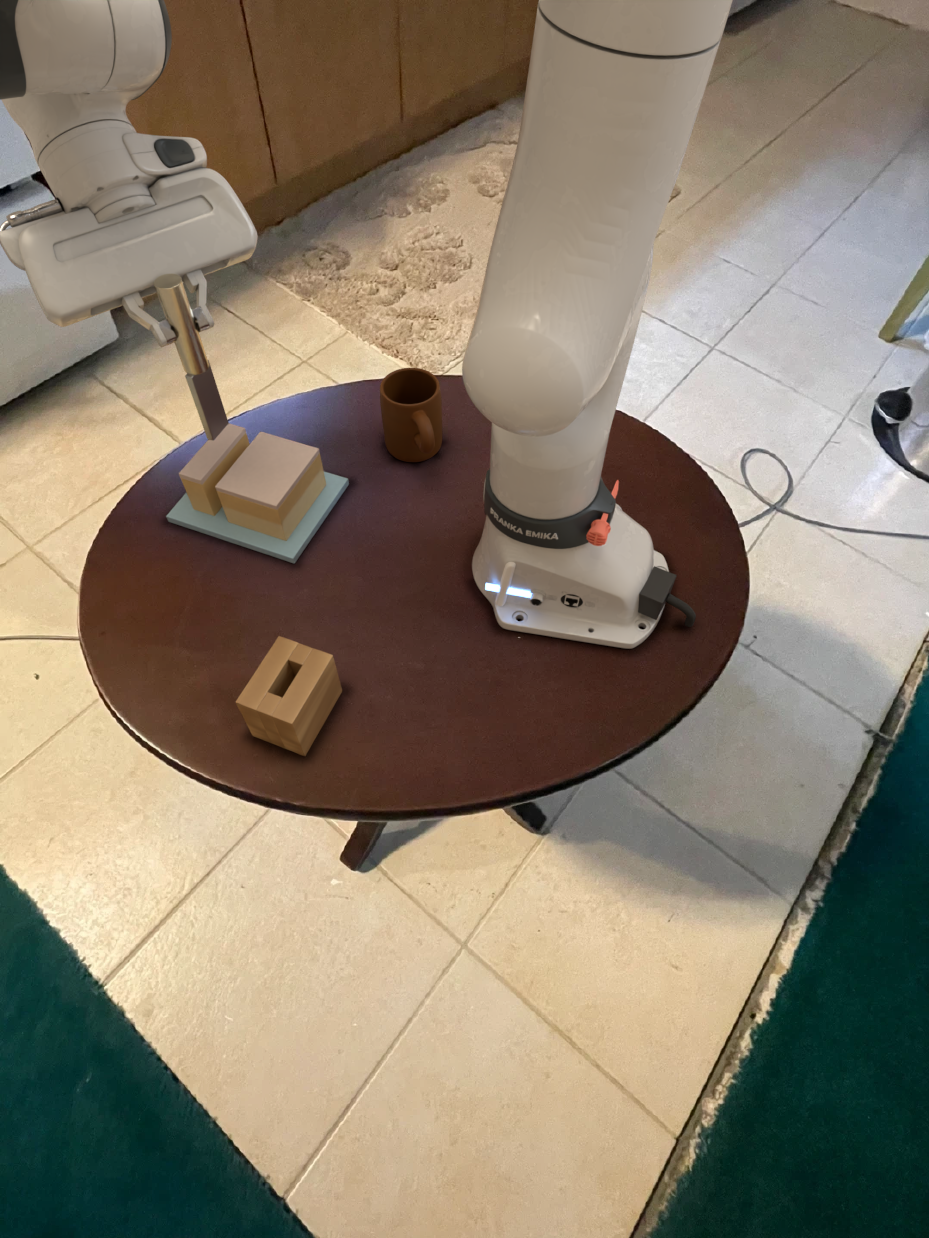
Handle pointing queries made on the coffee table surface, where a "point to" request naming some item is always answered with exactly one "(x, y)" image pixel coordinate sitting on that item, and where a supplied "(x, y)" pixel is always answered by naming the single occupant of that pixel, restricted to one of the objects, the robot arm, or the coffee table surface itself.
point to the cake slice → (212, 468)
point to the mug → (411, 414)
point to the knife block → (290, 695)
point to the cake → (269, 499)
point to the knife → (192, 354)
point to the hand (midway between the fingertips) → (188, 336)
